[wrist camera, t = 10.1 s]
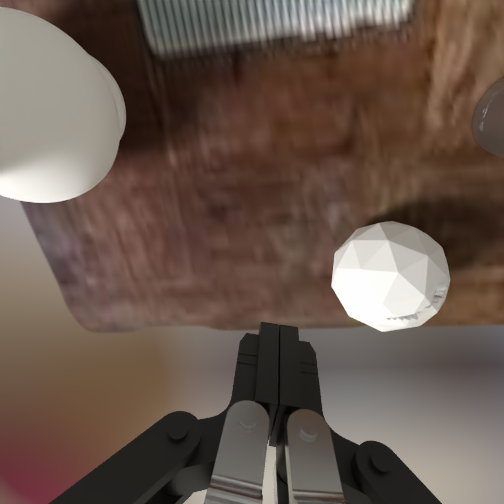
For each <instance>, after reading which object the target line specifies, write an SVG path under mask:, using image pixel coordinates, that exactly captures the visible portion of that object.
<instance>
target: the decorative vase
mask: <svg viewBox="0 0 504 504" xmlns="http://www.w3.org/2000/svg"><path fill="white" fill-rule="evenodd" d="M125 125H126V108H125V103H124V99H123V96H122V93H121V91H120V88H119V86H118V84H117V83H116V81H115V79H114V78H113V76H112V75H111V74H110V72H109V71H108V70H107V69H106V68H105V67H104V66H103V65H102V64H101V63H100V62H99V61H98V60H96V59H95V58H94V57H92V56H91V55H89V54H87V53H86V51H85V50H84V49H83V48H82V47H81V46H80V45H79V44H78V43H77V42H75V41H74V40H73V39H72V38H71V37H70V36H68V35H67V34H66V33H64V32H63V31H62V30H60V29H59V28H57V27H56V26H54V25H52V24H51V23H49V22H47V21H45V20H43V19H41V18H39V17H37V16H34V15H32V14H29V13H26V12H23V11H19V10H15V9H11V8H5V7H0V195H1V196H5V197H8V198H12V199H16V200H21V201H27V202H37V203H50V202H58V201H64V200H68V199H71V198H74V197H77V196H79V195H81V194H83V193H85V192H87V191H89V190H90V189H92V188H93V187H94V186H96V185H97V184H98V183H99V182H100V181H101V180H102V179H103V178H104V177H105V176H106V174H107V173H108V172H109V170H110V168H111V167H112V165H113V163H114V160H115V158H116V155H117V151H118V147H119V141H120V139H121V137H122V135H123V133H124V130H125Z"/></svg>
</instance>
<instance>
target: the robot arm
mask: <svg viewBox="0 0 504 504" xmlns="http://www.w3.org/2000/svg"><path fill="white" fill-rule="evenodd" d="M472 128H473V135H474V137H475V140H476V142H477V143H478V144H479V146H480V147H482V148H483V149H484V150H486V151H488V152H490V153H492V154H495V155H497V156H499V157H502V158H504V77H503V78H501V79H500V80H499V81H497V82H496V83H495V84H494V85H493V86H492V87H491V88H490V89H489V90H488V91H487V92H486V93H485V95H484V96H483V97H482V98H481V100H480V102H479V104H478V106H477V108H476V110H475V113H474V116H473V124H472ZM268 440H269V446H273V447H276V462H275V465H274V471H273V474H274V496H275V504H442V503H441V502H440V501H439V500H438V499H437V498H436V497H435V496H434V495H433V494H432V493H431V492H430V490H429V489H428V488H427V487H426V486H425V485H424V484H423V483H422V482H421V481H420V480H419V479H418V478H417V477H416V475H415V474H414V473H413V472H412V471H411V470H410V469H409V468H408V467H407V466H406V465H405V464H404V463H403V462H402V461H401V460H400V458H399V457H398V456H397V455H396V454H395V453H394V452H393V451H392V450H391V449H390V448H388V447H387V446H386V445H384V444H382V443H380V442H376V441H366V442H363V443H362V444H360V445H358V444H356V443H353V442H351V441H349V440H347V439H345V438H343V437H341V436H340V435H338V434H337V433H335V432H334V431H333V430H332V429H331V428H330V427H329V425H328V424H327V422H326V421H325V418H324V416H323V412H322V404H321V395H320V386H319V378H318V369H317V360H316V353H315V351H314V350H313V348H312V346H311V344H310V343H309V342H304V341H299V335H298V327H293V326H286V325H278V324H272V323H265V322H261V324H260V329H259V334H258V335H256V334H250V333H246V335H245V336H244V337H243V338H242V340H241V341H240V345H239V352H238V358H237V365H236V371H235V378H234V385H233V391H232V397H231V401H230V404H229V405H228V407H227V408H226V410H224V411H223V412H222V413H220V414H219V415H217V416H214V417H210V418H205V419H200V420H198V419H197V418H196V417H195V416H193V415H192V414H190V413H188V412H184V411H176V412H172V413H170V414H168V415H166V416H164V417H163V418H162V419H161V420H159V421H158V422H156V423H155V424H154V425H152V426H151V427H150V428H149V429H147V430H146V431H144V432H143V433H142V434H141V435H139V436H138V437H137V438H135V439H134V440H133V441H131V442H130V443H129V444H127V445H126V446H125V447H123V448H122V449H121V450H119V451H118V452H117V453H115V454H114V455H113V456H111V457H110V458H109V459H107V460H106V461H105V462H103V463H102V464H101V465H99V466H98V467H97V468H95V469H94V470H93V471H91V472H90V473H89V474H88V475H86V476H85V477H83V478H82V479H81V480H79V481H78V482H77V483H76V484H74V485H73V486H71V487H70V488H69V489H68V490H66V491H65V492H64V493H62V494H61V495H60V496H58V497H57V498H56V499H54V500H53V501H52V502H50V503H49V504H183V503H184V502H185V501H186V500H187V499H188V498H189V497H190V496H191V494H192V493H193V492H197V491H201V490H205V489H207V493H206V497H205V501H204V504H262V499H263V496H262V485H263V477H264V468H265V459H266V450H267V443H268Z"/></svg>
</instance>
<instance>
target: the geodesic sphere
mask: <svg viewBox="0 0 504 504" xmlns="http://www.w3.org/2000/svg"><path fill="white" fill-rule="evenodd" d="M449 284H450V275H449V269H448V264H447V261H446V257H445V254H444V251H443V248H442V247H441V246H440V245H439V244H438V243H437V242H436V241H434V240H433V239H432V238H431V237H430V236H429V235H427V234H426V233H424V232H422V231H420V230H419V229H417V228H415V227H412V226H409V225H405V224H401V223H398V222H394V221H389V222H382V223H377V224H373V225H369V226H366V227H362V228H358V229H357V230H356V231H355V232H354V233H353V234H352V235H351V236H350V237H349V239H348V240H347V241H346V242H345V243H344V244H343V245H342V246H341V247H340V248H339V249H338V250H337V252H336V253H335V257H334V267H333V276H332V288H333V290H334V291H335V293H336V295H337V296H338V298H339V300H340V301H341V303H342V305H343V307H344V308H345V310H346V312H347V313H348V315H349V316H350V317H352V318H354V319H356V320H359V321H361V322H363V323H365V324H367V325H369V326H371V327H373V328H376V329H378V330H380V331H382V332H384V331H390V330H397V329H404V328H410V327H417V326H420V325H422V324H423V323H424V322H426V321H427V320H428V319H429V318H431V317H432V316H433V315H435V314H436V313H437V312H438V311H439V309H440V307H441V306H442V304H443V302H444V301H445V298H446V295H447V291H448V287H449Z"/></svg>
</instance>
